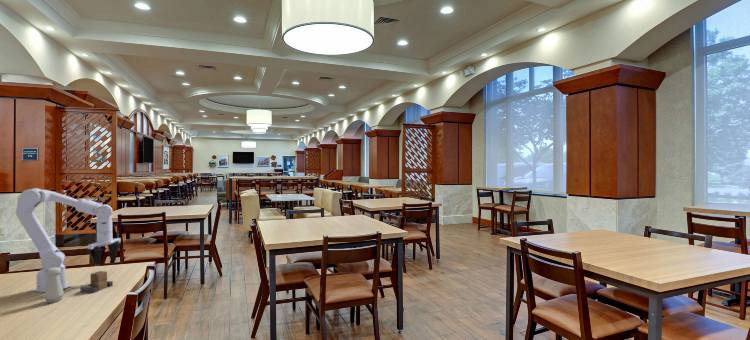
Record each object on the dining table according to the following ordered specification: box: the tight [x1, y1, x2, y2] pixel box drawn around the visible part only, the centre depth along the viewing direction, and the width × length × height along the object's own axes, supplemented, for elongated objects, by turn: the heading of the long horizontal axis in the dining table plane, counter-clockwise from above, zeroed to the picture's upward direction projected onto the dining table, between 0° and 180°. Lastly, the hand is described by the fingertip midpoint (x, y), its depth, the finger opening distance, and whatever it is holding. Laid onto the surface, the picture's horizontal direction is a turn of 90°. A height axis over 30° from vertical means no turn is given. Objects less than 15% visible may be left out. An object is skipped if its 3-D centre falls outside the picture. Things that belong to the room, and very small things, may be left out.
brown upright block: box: [90, 270, 108, 292], centre depth 156 cm, size 4×4×7 cm
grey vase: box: [43, 267, 65, 304], centre depth 142 cm, size 6×6×13 cm
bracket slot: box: [79, 280, 114, 293], centre depth 157 cm, size 7×9×2 cm
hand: (105, 261), depth 165 cm, fingers open, 7 cm apart
